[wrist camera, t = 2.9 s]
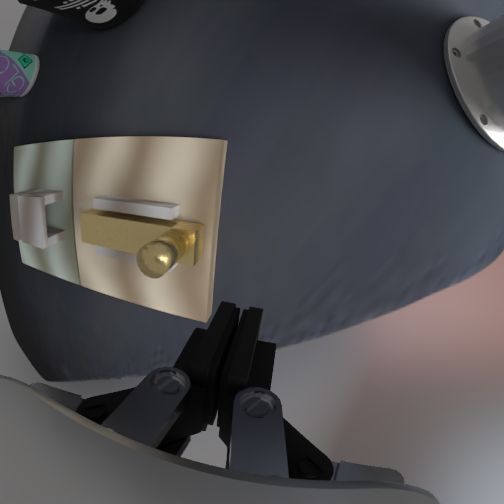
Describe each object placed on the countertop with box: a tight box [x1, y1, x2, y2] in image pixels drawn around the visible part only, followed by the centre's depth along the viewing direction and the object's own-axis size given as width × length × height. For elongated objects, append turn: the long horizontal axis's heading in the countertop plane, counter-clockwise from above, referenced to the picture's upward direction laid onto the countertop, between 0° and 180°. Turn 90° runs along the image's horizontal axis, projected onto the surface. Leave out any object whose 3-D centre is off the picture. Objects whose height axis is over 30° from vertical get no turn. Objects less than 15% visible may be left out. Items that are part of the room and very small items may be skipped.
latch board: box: [10, 136, 228, 322], centre depth 20 cm, size 25×14×5 cm, turn 83°
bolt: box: [80, 208, 205, 279], centre depth 17 cm, size 10×2×5 cm, turn 83°
